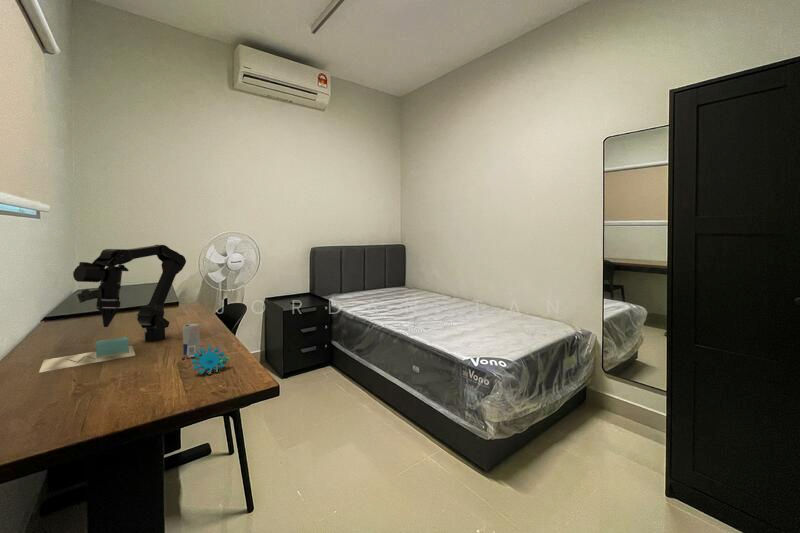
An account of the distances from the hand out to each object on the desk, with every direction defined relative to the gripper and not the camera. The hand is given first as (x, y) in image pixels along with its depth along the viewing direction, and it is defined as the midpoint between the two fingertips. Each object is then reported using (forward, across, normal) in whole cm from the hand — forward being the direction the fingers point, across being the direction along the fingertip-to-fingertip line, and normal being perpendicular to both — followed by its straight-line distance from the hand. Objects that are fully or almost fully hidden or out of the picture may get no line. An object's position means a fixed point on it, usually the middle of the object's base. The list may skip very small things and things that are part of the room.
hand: (105, 325), depth 120 cm
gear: (+12, +36, +28) cm, 47 cm away
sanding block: (+10, -1, +3) cm, 11 cm away
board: (+12, -1, -3) cm, 13 cm away
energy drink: (+10, +16, +25) cm, 32 cm away
